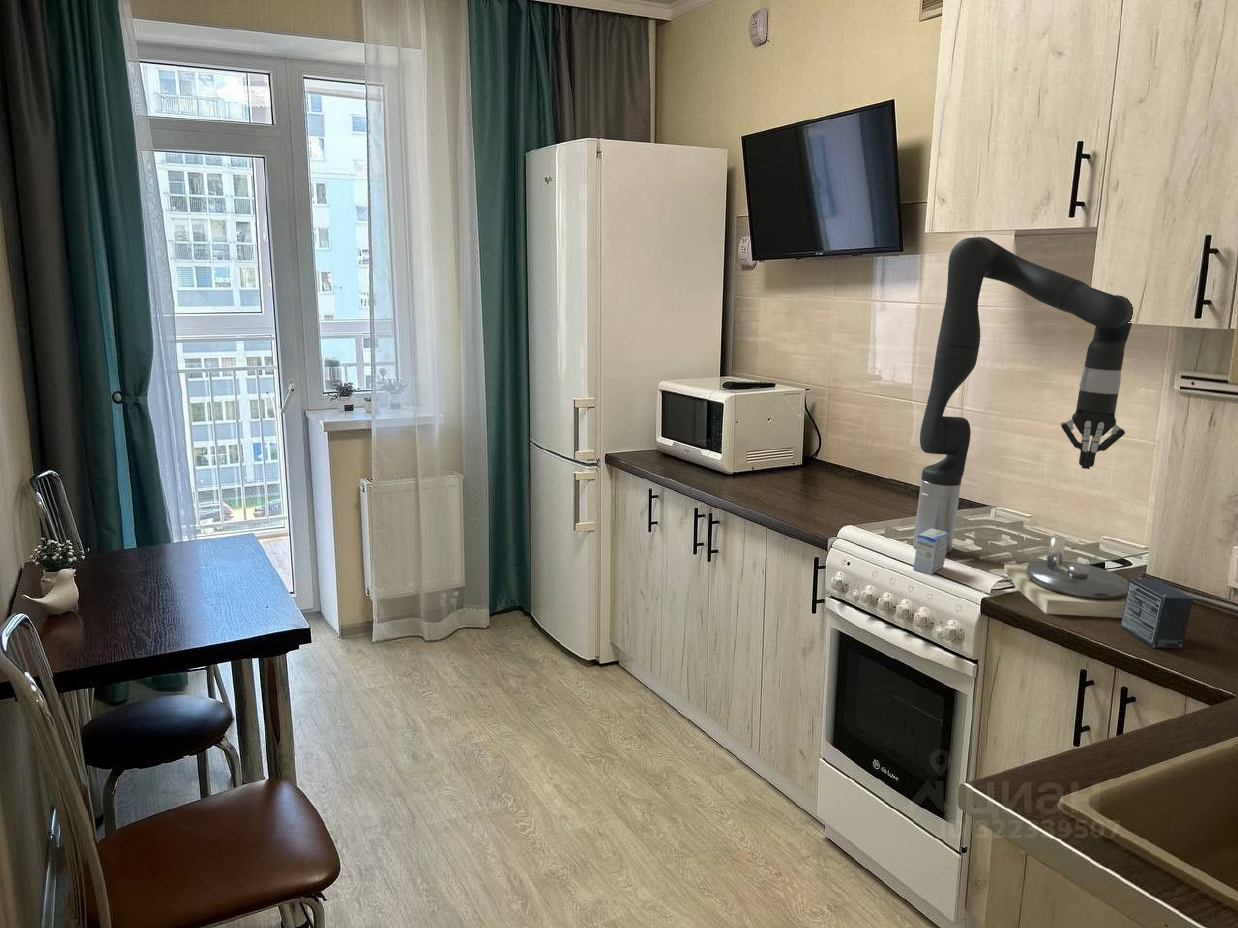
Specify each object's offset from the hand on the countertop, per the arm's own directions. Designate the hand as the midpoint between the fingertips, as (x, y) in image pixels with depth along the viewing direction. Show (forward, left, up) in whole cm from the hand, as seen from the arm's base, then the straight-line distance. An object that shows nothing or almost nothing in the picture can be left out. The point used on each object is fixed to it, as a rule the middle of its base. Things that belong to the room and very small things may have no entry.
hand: (1085, 468), depth 198 cm
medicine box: (-6, -29, -27) cm, 40 cm away
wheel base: (+8, -2, -27) cm, 28 cm away
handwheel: (+8, -2, -24) cm, 25 cm away
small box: (+29, +3, -27) cm, 40 cm away
